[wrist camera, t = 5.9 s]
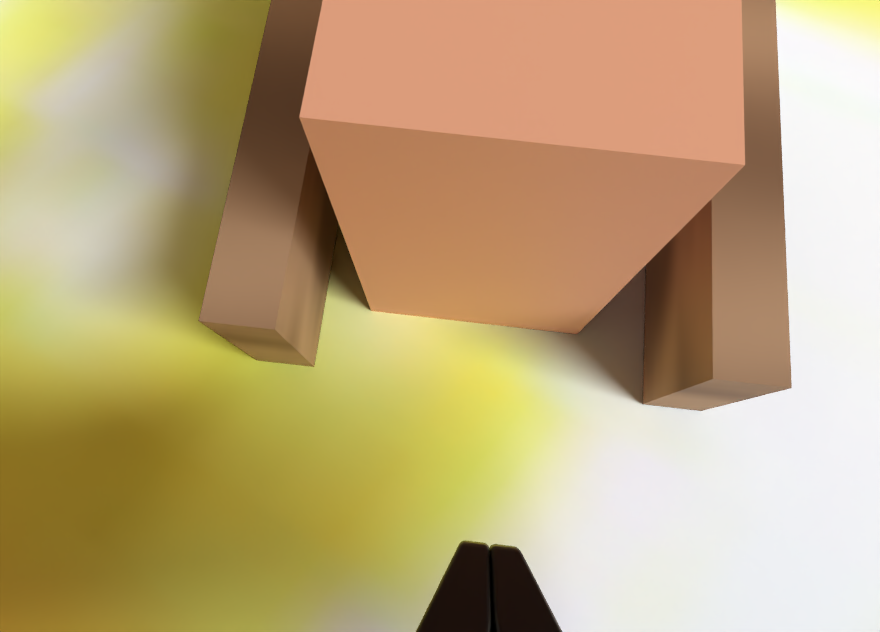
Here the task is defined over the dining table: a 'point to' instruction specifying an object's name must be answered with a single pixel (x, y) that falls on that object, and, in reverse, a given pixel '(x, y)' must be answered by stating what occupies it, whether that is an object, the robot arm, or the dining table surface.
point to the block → (520, 146)
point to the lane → (667, 274)
